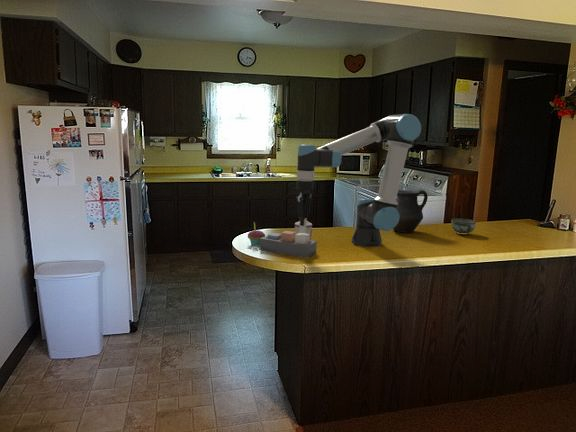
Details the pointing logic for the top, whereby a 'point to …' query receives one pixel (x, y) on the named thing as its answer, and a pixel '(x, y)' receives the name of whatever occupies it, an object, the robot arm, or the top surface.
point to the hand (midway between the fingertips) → (302, 232)
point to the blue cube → (274, 236)
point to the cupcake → (255, 236)
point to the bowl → (463, 225)
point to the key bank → (288, 247)
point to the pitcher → (409, 210)
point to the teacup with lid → (308, 228)
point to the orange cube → (288, 236)
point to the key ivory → (302, 238)
